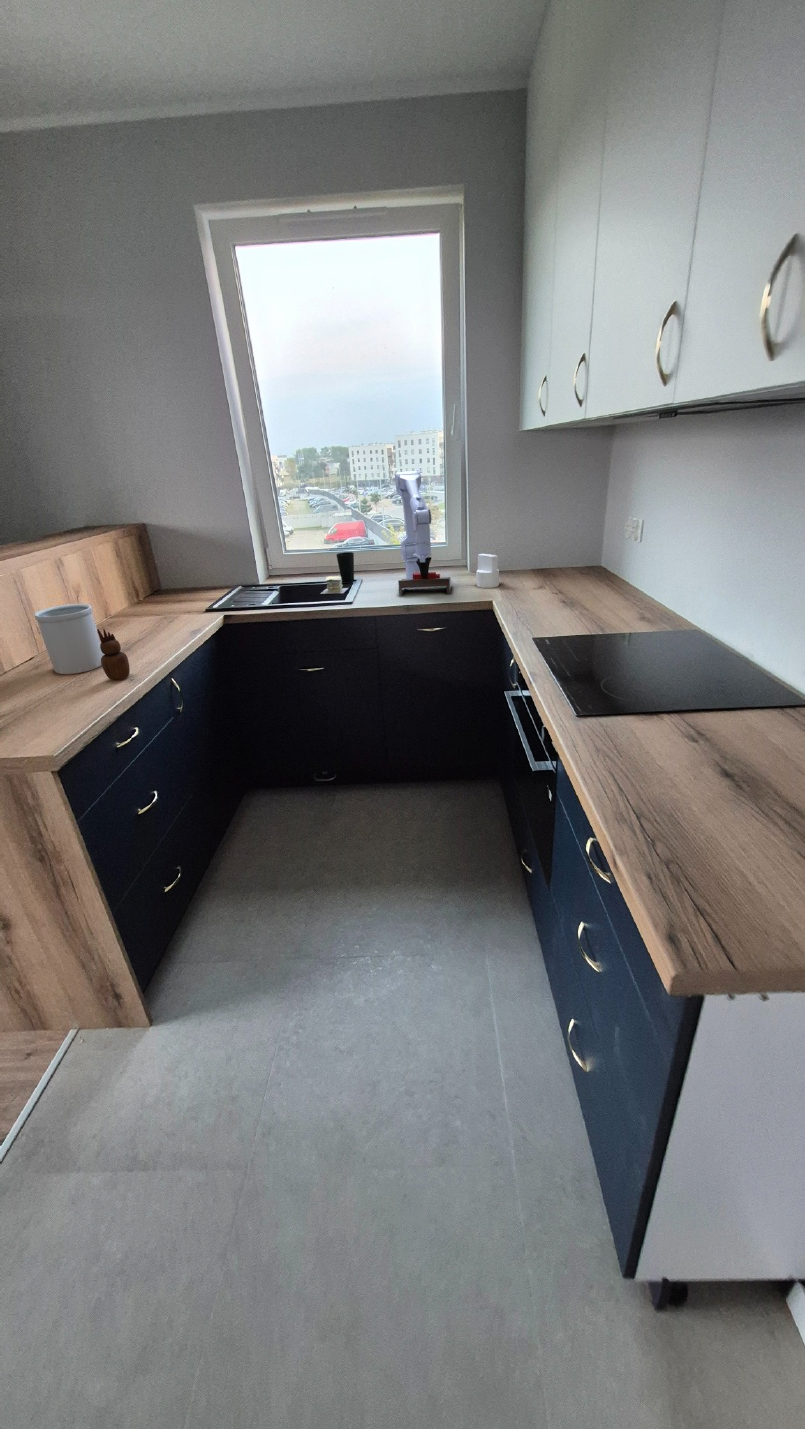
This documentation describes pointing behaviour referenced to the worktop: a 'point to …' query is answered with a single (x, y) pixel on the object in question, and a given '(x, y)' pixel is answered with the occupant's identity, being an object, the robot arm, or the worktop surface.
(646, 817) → the worktop surface
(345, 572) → the cup
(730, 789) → the worktop surface
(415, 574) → the crayon
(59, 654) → the utensil holder
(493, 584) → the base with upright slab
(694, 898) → the worktop surface
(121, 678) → the wooden figurine
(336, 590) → the stacked layers on plate
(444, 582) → the shelf
